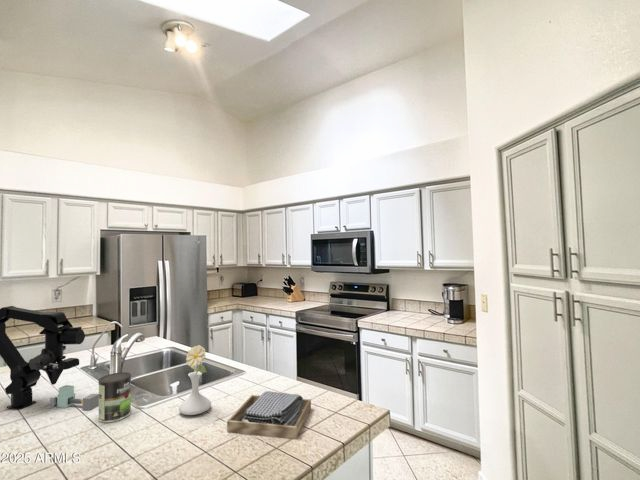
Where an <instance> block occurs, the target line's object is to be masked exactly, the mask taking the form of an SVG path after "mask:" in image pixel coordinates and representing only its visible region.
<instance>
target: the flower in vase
mask: <svg viewBox="0 0 640 480" xmlns="http://www.w3.org/2000/svg"><path fill="white" fill-rule="evenodd" d="M205 358H206V349H205V347H203V346H202V345H200V344H198V345H197V346H196V345H194V346H192V347H191V348H190V350H188V353H187V354H186V358H185V361H186V363H185V364H186V365H187V366H188V367H190V368H191V369H193V370H195V371H193V372H189V373H188V374H187V376H188V377H189V378H190V381H191V393H190V395H189V396H188V397H187V398H185V399H184V400H183V402H182V403H181V404H180V405H179V408H178V411H179V413H180V414H182V415H186V416H193V415H194V416H195V415H199V414H202V413H205V412H206V411H208V410H210V408H211V406H212V402H211V400H210V399H209V398H207V397H206V396H204V395H203V394H201V393H200V391H199V390H200V389H199V381H200V378H201V376H202V375H203V374H204V373H208V371H207V369H206V366H205V365H201V364H202V363H203V361H204V359H205ZM198 366H199V367H198ZM197 367H198V368H197Z"/></svg>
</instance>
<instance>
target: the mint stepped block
mask: <svg viewBox="0 0 640 480" xmlns="http://www.w3.org/2000/svg"><path fill="white" fill-rule="evenodd" d="M58 395H59V396H58ZM58 395H57V396H56V397H57V406H56V407H57V408H62V409H66V408H69V407H70V406H73V405H75V404H76V403H68V398H72V399H76V393H75V386H74V385H69V384H65V385H63V386H60V387H58Z"/></svg>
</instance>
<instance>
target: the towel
mask: <svg viewBox="0 0 640 480" xmlns="http://www.w3.org/2000/svg"><path fill="white" fill-rule="evenodd" d="M303 399H304V398H303V396H302V395H300V394H295V393H287V392H277V391H270V390H269V391H268V390H267V391H264V392H262V394H260V397H259V398H258V399H257V400H256V401H255V402H254V403H253V404H252V405H251V406H250V407H249V408H247V410H246V411H245V415H244V416H245V417H244V418H243V419H244V420H245V421H246V422H255V423H266V424H276V425H287V426H294V425H295V424H296V422H297V420H298V419H299V417H300V415H301V413H302V411H303V409H302V408H303V406H302V404H301V403H302V401H303Z"/></svg>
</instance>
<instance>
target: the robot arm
mask: <svg viewBox="0 0 640 480" xmlns="http://www.w3.org/2000/svg"><path fill="white" fill-rule="evenodd" d="M11 319H12V320H18V321H23V322H29V323H34V324H36V325H37V326H39V327H41V328H43V329H42V330H41V331H39V333H38V335H44V348H41V350H40V354H37V355H36V356H34V357H33V358H30V359H29V360H28V362H27V361H26V360H25V359H24V357H23V356H22V354H21V353H20V352H19V350H18V349H17V347H16V345H15V344H14V343H13V341H12V340H11V339H10V337H9V335H8V334H7V333H6V328H7V325H6V322H8V321H9V320H11ZM85 338H86V333H85V330H83V329H82V326H76V327H75V326H73V325H72V323H71V322H70V320H69V319H68V318H67V316H66V314H65V312H63V311H45V312H44V311H37V310H33V309H27V308H23V307H16V306H14V305H10V306H8V305H7V306H4V307H0V357H1V358H2V360H3V361H4V363H5V364H6V366H7V368H8V369H9V370H10V373H9V374H10V375H9V379H10V381H11V382H10V383H9V384H8V385H7V386H6V387H5V388H4V391H5V395H10V404H9V405H8V406H6V409H9V410H12V409H13V410H21V409H23V408H26V407H28V406H31V405H32V404H35V403H37V401H36V400H33V387H34V386H37V384H38V381H39V380H40V378H41V375H42V373H41V371H43V372H44V373H46V376H47V377H48V379H49V382H50V384H51V385H53V386H54V385H56V384H57V382H58V380H59V378H60V376H61V374H62V373H63V371H64V370H69V369H71V368H74V367H77V366H79V365H80V359H79V358H77V357H68V358H66V357H67V356H66V355H64V349H66V348H67V346H68V345H82V344H83V343H84V341H85ZM66 345H67V346H66Z"/></svg>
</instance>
